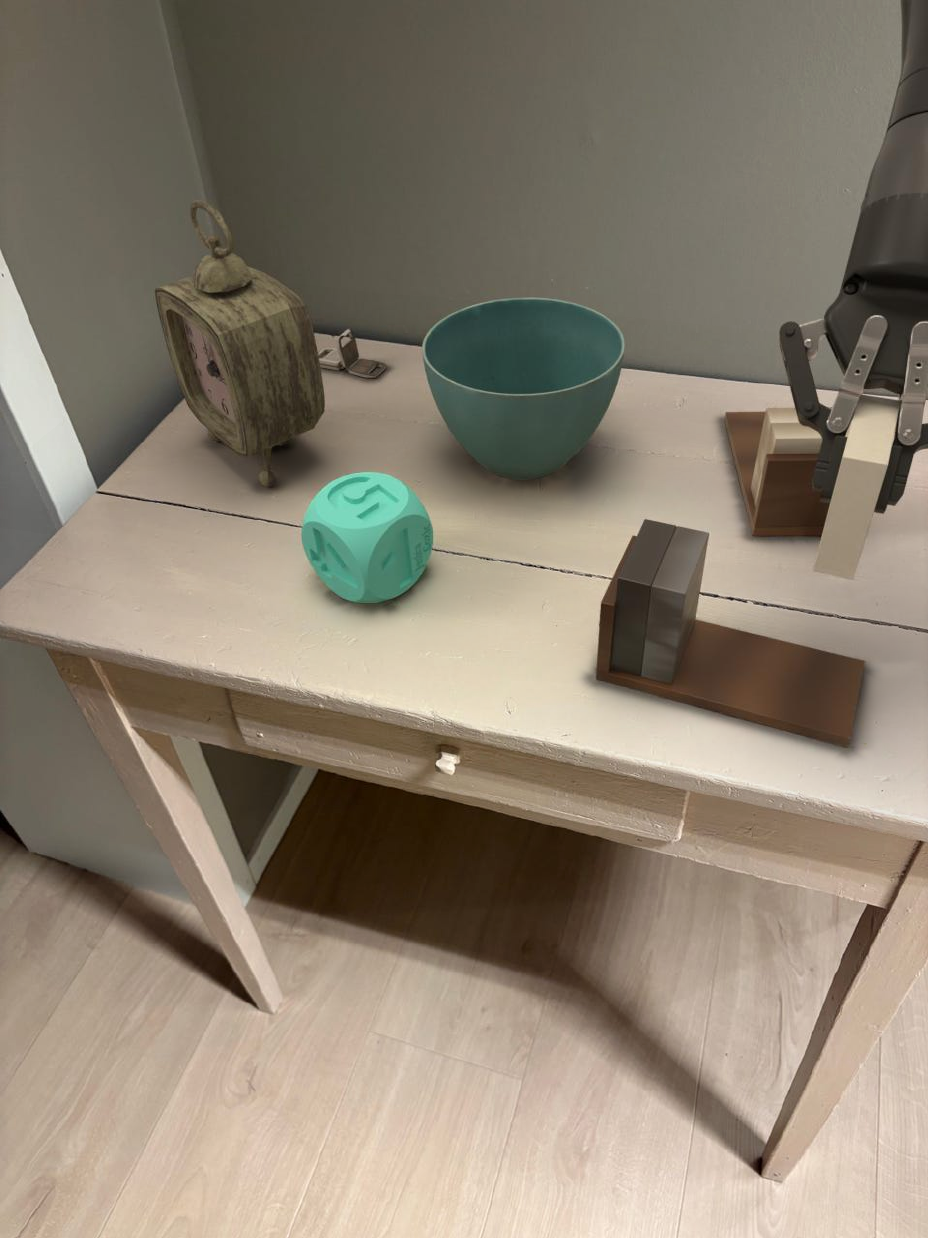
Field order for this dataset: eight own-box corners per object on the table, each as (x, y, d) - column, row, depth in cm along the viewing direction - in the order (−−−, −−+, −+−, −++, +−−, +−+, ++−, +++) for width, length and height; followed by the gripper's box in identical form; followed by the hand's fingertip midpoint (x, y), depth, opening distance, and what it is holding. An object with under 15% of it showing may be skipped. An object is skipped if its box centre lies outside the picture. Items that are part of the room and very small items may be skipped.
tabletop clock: (193, 439, 100) (122, 193, 83) (269, 407, 104) (216, 165, 86) (263, 502, 92) (200, 242, 74) (342, 464, 95) (300, 209, 78)
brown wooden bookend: (861, 669, 72) (897, 567, 65) (847, 747, 67) (884, 646, 60) (625, 611, 78) (634, 511, 71) (595, 679, 73) (602, 579, 66)
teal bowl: (484, 391, 104) (479, 283, 95) (643, 428, 97) (654, 315, 89) (398, 483, 93) (384, 369, 84) (572, 531, 86) (576, 413, 77)
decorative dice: (371, 618, 79) (359, 543, 74) (308, 577, 83) (292, 503, 78) (438, 569, 83) (431, 494, 78) (374, 532, 87) (364, 459, 82)
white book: (867, 513, 63) (901, 400, 57) (853, 580, 59) (888, 464, 53) (829, 506, 64) (858, 393, 58) (812, 571, 59) (842, 456, 53)
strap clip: (311, 365, 110) (305, 331, 107) (325, 353, 112) (320, 319, 109) (374, 380, 107) (370, 345, 104) (388, 367, 109) (384, 332, 106)
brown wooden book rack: (846, 535, 84) (873, 443, 77) (752, 536, 84) (771, 444, 78) (804, 419, 97) (824, 332, 90) (724, 420, 98) (737, 333, 91)
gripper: (806, 176, 55) (730, 471, 55) (1079, 200, 50) (993, 521, 51) (804, 232, 62) (736, 493, 63) (1043, 258, 57) (968, 539, 58)
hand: (852, 504), depth 57 cm, fingers closed on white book, 2 cm apart
